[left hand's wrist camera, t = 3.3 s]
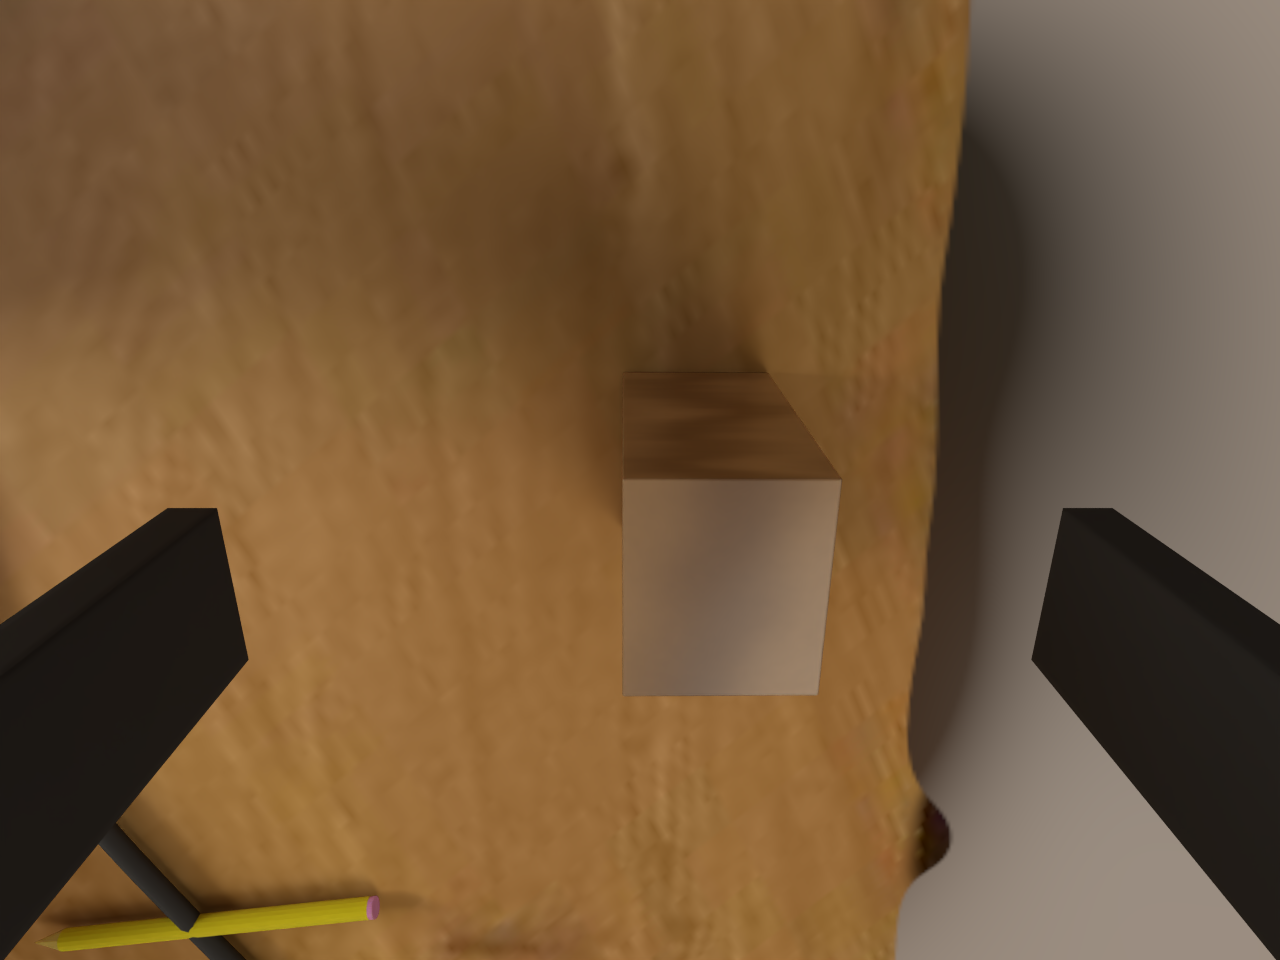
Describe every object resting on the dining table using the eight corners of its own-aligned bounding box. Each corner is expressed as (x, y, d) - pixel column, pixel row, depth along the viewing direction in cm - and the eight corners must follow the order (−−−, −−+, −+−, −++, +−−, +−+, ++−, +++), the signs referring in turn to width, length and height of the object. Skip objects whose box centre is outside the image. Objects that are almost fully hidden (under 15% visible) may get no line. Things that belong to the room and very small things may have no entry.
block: (768, 372, 28) (842, 479, 19) (757, 529, 31) (818, 696, 21) (623, 372, 28) (622, 479, 19) (623, 529, 31) (622, 697, 21)
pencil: (376, 890, 37) (369, 908, 36) (381, 905, 38) (375, 924, 37) (37, 926, 38) (22, 945, 37) (45, 940, 38) (31, 960, 37)
